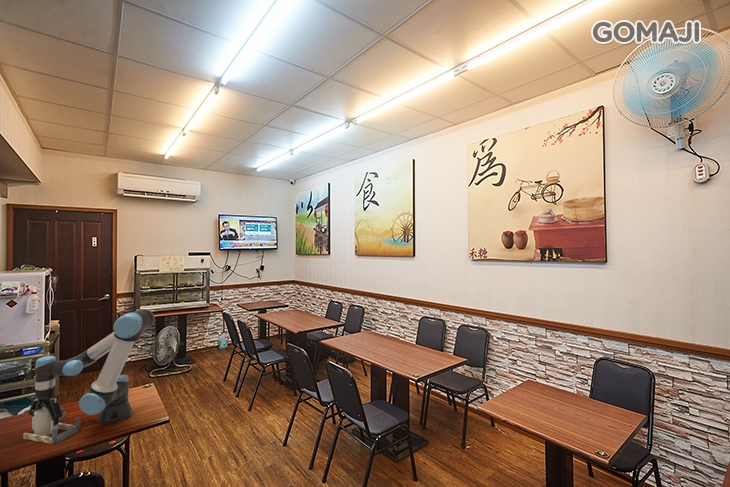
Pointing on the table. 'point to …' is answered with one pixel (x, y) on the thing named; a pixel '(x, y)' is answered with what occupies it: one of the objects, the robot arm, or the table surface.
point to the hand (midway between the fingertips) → (45, 429)
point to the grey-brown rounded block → (62, 415)
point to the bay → (56, 433)
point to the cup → (42, 422)
